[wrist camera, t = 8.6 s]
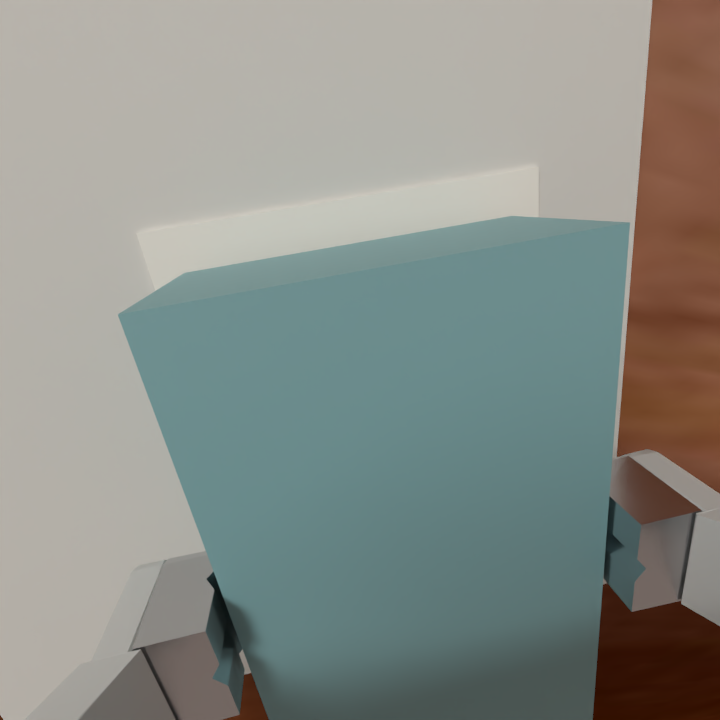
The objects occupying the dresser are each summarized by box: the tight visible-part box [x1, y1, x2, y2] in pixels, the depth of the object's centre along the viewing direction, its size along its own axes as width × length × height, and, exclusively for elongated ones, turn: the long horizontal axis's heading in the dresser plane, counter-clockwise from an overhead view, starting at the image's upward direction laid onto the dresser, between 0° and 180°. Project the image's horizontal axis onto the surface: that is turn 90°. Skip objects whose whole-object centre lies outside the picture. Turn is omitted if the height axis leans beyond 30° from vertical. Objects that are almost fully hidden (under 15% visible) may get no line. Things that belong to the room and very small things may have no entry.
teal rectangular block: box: [118, 216, 630, 720], centre depth 8 cm, size 10×6×3 cm, turn 9°
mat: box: [0, 0, 652, 720], centre depth 9 cm, size 17×18×1 cm
